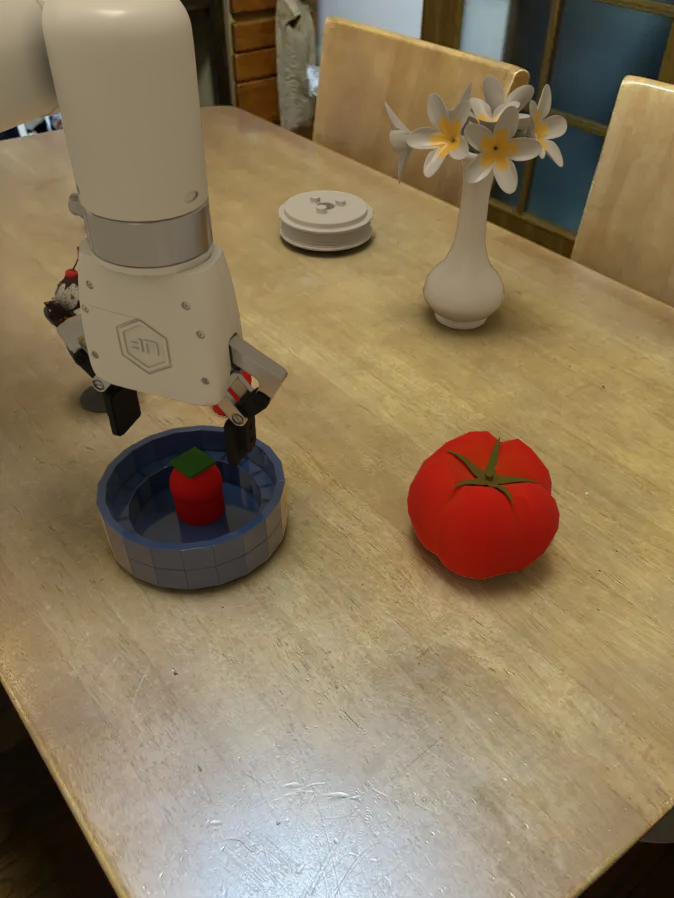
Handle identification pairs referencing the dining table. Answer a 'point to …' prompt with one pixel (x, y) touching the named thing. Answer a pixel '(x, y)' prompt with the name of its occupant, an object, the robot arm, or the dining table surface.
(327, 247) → the lid
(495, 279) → the flower vase
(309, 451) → the dining table surface
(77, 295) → the sundae
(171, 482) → the strawberry
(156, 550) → the bowl
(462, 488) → the tomato
